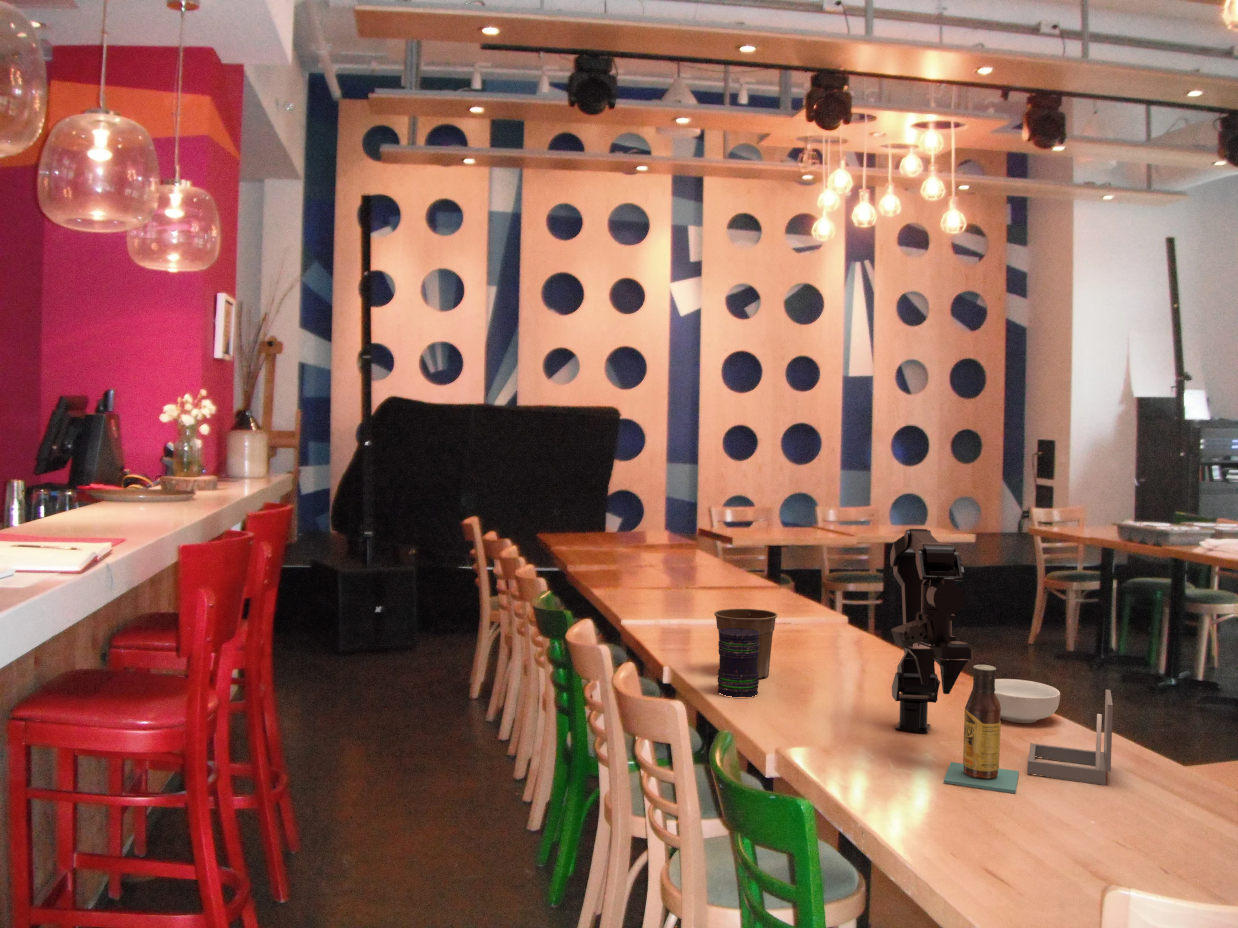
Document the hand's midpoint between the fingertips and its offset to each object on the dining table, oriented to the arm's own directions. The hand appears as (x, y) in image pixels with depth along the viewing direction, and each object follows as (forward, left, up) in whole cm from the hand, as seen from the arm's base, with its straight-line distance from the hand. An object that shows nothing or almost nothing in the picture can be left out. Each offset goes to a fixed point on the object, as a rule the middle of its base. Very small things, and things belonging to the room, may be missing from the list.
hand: (935, 689), depth 203 cm
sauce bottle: (+11, +10, -13) cm, 19 cm away
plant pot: (-51, -53, -13) cm, 75 cm away
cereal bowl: (-38, +14, -13) cm, 43 cm away
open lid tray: (-2, +24, -13) cm, 27 cm away
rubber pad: (+11, +10, -13) cm, 19 cm away
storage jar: (-31, -49, -13) cm, 59 cm away
